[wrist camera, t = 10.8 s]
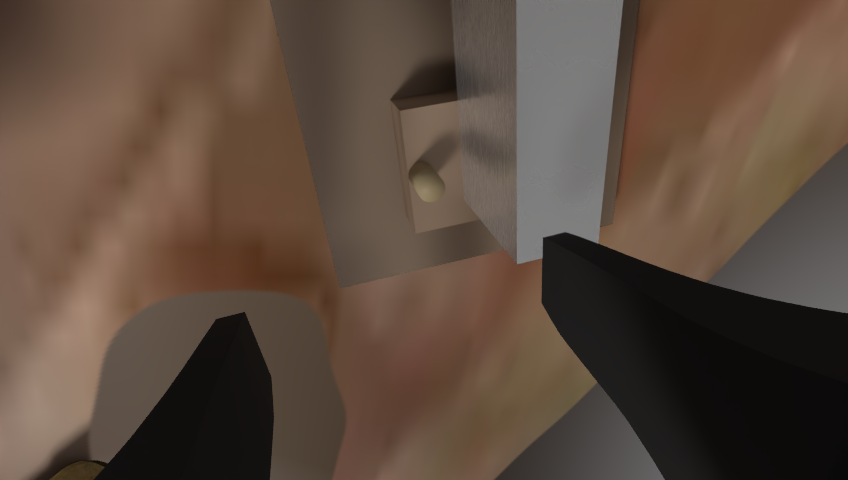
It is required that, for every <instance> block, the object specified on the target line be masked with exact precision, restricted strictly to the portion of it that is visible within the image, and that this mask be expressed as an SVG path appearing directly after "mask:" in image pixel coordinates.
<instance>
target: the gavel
mask: <svg viewBox="0 0 848 480" xmlns="http://www.w3.org/2000/svg"><path fill="white" fill-rule="evenodd" d="M107 464H108V463H106V462H102V461H98V460H92V462H87V461H79V462H76V463H73V464H71V465H69V466H67V467H65V468H63V469H62V470H61V471H60V472H58V473H57V474H56V475H54V476H53V477H52V478H51V479H49V480H94V479H95V477H96V476H97V475H98V474H99V473H100V472H101V471H102V470H103V469H104V468H105V466H106V465H107Z"/></svg>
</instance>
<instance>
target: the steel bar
mask: <svg viewBox="0 0 848 480" xmlns="http://www.w3.org/2000/svg"><path fill="white" fill-rule="evenodd" d="M622 8H623V0H451V11H452V26H453V41H454V56H455V71H456V86H457V101H458V116H459V131H460V146H461V161H462V176H463V191H464V200H465V202H466V203H467V204H468V205H469V206H470V208H471V209H472V210H473V211H474V213H475V214H476V215H477V216H478V217H479V219H480V220H481V221H482V222H483V224H484V225H485V226H486V227H487V228H488V230H489V231H490V232H491V233H492V234H493V236H494V237H495V238H496V239H497V241H498V242H499V243H500V244H501V245H502V247H503V248H504V249H505V250H506V252H507V253H508V254H509V255H510V256H511V258H512V259H513V260H514V261H515V262H516V264H520V263H524V262H528V261H532V260H536V259H541V258H543V237H547V236H551V235H555V234H559V233H564V232H567V233H570V234H574V235H576V236H579V237H582V238H585V239H587V240H590V241H593V242H595V243H598V240H599V230H600V221H601V211H602V201H603V192H604V182H605V172H606V163H607V153H608V143H609V134H610V124H611V114H612V105H613V95H614V86H615V76H616V66H617V57H618V47H619V37H620V28H621V18H622Z"/></svg>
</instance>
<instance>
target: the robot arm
mask: <svg viewBox="0 0 848 480" xmlns="http://www.w3.org/2000/svg"><path fill="white" fill-rule="evenodd" d="M542 304H543V306H544V308H545V310H546V311H547V313H548V315H549V317H550V318H551V320H552V322H553V323H554V325H555V327H556V328H557V330H558V332H559V333H560V335H561V336H562V337H563V339H564V340H565V341H566V343H567V344H568V345H569V347H570V348H571V349H572V350H573V352H574V353H575V354H576V355H577V357H578V358H579V359H580V361H581V362H582V363H583V364H584V366H585V367H586V368H587V369H588V371H589V372H590V373H591V374H592V376H593V377H594V378H595V379H596V381H597V382H598V383H599V384H600V385H601V387H602V388H603V389H604V390H605V392H606V393H607V394H608V395H609V397H610V398H611V399H612V400H613V402H614V403H615V404H616V405H617V407H618V408H619V410H620V411H621V412H622V414H623V415H624V416H625V418H626V419H627V421H628V422H629V423H630V425H631V427H632V428H633V430H634V431H635V432H636V434H637V436H638V437H639V439H640V440H641V442H642V444H643V445H644V447H645V448H646V450H647V451H648V453H649V454H650V456H651V457H652V459H653V461H654V462H655V464H656V466H657V467H658V469H659V471H660V472H661V474H662V475H663V477H664V479H665V480H848V313H841V312H835V311H829V310H823V309H817V308H811V307H806V306H801V305H796V304H791V303H786V302H781V301H776V300H771V299H767V298H762V297H758V296H754V295H750V294H745V293H742V292H738V291H734V290H731V289H727V288H723V287H719V286H716V285H712V284H708V283H705V282H702V281H699V280H696V279H692V278H689V277H686V276H683V275H680V274H677V273H674V272H671V271H668V270H666V269H663V268H660V267H657V266H654V265H652V264H649V263H646V262H644V261H641V260H638V259H636V258H633V257H631V256H628V255H626V254H623V253H620V252H618V251H615V250H613V249H610V248H608V247H605V246H603V245H600V244H598V243H595V242H593V241H590V240H587V239H585V238H582V237H579V236H576V235H574V234H570V233H567V232H564V233H559V234H555V235H551V236H547V237H543V258H542ZM273 423H274V412H273V395H272V381H271V375H270V373H269V370H268V368H267V365H266V363H265V361H264V358H263V356H262V353H261V351H260V348H259V346H258V343H257V341H256V338H255V336H254V333H253V331H252V329H251V326H250V324H249V321H248V319H247V316H246V314H245V312H243V313H239V314H235V315H231V316H227V317H223V318H219V319H216V320H215V322H214V323H213V325H212V326H211V328H210V329H209V330H208V332H207V333H206V335H205V336H204V338H203V339H202V341H201V342H200V344H199V345H198V347H197V348H196V350H195V351H194V353H193V354H192V356H191V357H190V359H189V360H188V361H187V363H186V364H185V366H184V368H183V369H182V370H181V372H180V373H179V374H178V376H177V377H176V379H175V380H174V382H173V383H172V384H171V386H170V387H169V389H168V390H167V392H166V393H165V394H164V396H163V397H162V398H161V399H160V401H159V402H158V403H157V405H156V406H155V407H154V409H153V410H152V411H151V412H150V414H149V415H148V416H147V417H146V419H145V420H144V421H143V423H142V424H141V425H140V426H139V428H138V429H137V430H136V432H135V433H134V434H133V435H132V437H131V438H130V439H129V440H128V441H127V443H126V444H125V445H124V446H123V447H122V448H121V450H120V451H119V452H118V453H117V454H116V455H115V457H114V458H113V459H112V460H111V461H110V462H109V463H108V464H107V465H106V466H105V468H104V469H103V470H102V471H101V472H100V473H99V474H98V475H97V476H96V477H95V479H94V480H270V469H271V454H272V439H273Z"/></svg>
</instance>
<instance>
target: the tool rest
mask: <svg viewBox="0 0 848 480" xmlns="http://www.w3.org/2000/svg"><path fill="white" fill-rule="evenodd" d="M639 1H640V0H623V8H622V18H621V28H620V37H619V47H618V57H617V66H616V76H615V86H614V95H613V105H612V114H611V124H610V134H609V143H608V153H607V163H606V172H605V182H604V192H603V201H602V211H601V221H600V227H602V226H606V225H611V224H613V216H614V207H615V199H616V191H617V183H618V174H619V166H620V158H621V150H622V141H623V133H624V125H625V117H626V108H627V100H628V92H629V84H630V75H631V67H632V59H633V51H634V42H635V34H636V26H637V18H638V9H639ZM270 3H271V7H272V11H273V15H274V19H275V24H276V28H277V32H278V36H279V40H280V44H281V48H282V52H283V56H284V60H285V65H286V69H287V73H288V77H289V81H290V85H291V89H292V93H293V97H294V101H295V105H296V110H297V114H298V118H299V122H300V126H301V130H302V134H303V138H304V142H305V146H306V151H307V155H308V159H309V163H310V167H311V171H312V175H313V179H314V183H315V187H316V191H317V196H318V200H319V204H320V208H321V212H322V216H323V220H324V224H325V228H326V232H327V237H328V241H329V245H330V249H331V253H332V257H333V261H334V265H335V269H336V273H337V278H338V282H339V286H340V288H343V287H348V286H352V285H356V284H360V283H365V282H369V281H373V280H377V279H382V278H386V277H390V276H394V275H399V274H403V273H407V272H411V271H416V270H420V269H424V268H428V267H433V266H437V265H441V264H445V263H449V262H454V261H458V260H462V259H466V258H471V257H475V256H479V255H483V254H488V253H492V252H496V251H500V250H505V249H504V248H503V247H502V245H501V244H500V243H499V242H498V241H497V239H496V238H495V237H494V236H493V234H492V233H491V232H490V231H489V230H488V228H487V227H486V226H485V225H484V224H483V222H482V221H481V220H480V219H479V217H478V216H477V215H476V214H475V213H474V211H473V210H472V209H471V208H470V206H469V205H468V204H467V203H466V202H465V200H464V191H463V176H462V161H461V146H460V131H459V116H458V101H457V86H456V71H455V56H454V41H453V26H452V11H451V0H270Z"/></svg>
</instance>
